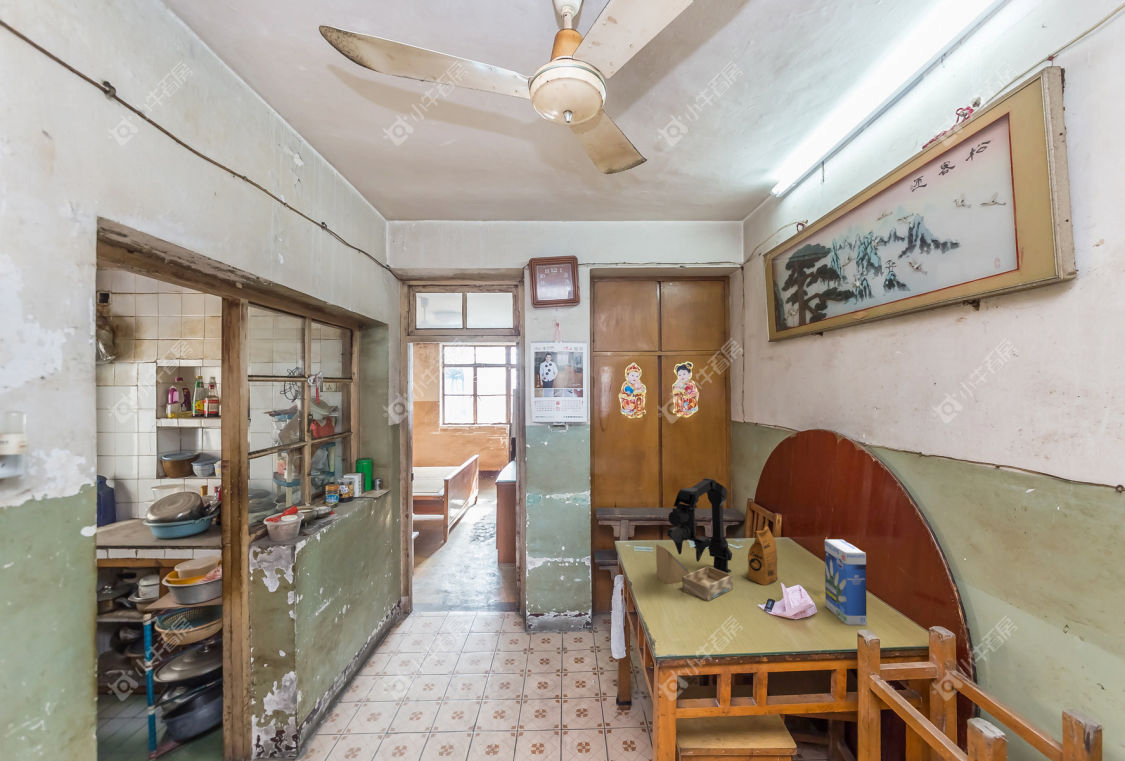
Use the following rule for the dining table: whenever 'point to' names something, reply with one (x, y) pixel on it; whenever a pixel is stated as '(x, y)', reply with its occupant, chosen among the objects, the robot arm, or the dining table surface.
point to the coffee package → (763, 558)
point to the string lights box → (845, 581)
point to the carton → (701, 581)
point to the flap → (719, 587)
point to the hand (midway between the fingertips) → (688, 557)
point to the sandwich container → (669, 566)
